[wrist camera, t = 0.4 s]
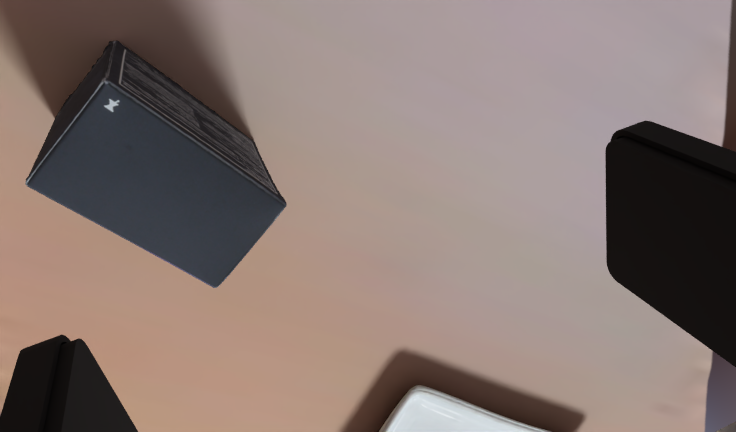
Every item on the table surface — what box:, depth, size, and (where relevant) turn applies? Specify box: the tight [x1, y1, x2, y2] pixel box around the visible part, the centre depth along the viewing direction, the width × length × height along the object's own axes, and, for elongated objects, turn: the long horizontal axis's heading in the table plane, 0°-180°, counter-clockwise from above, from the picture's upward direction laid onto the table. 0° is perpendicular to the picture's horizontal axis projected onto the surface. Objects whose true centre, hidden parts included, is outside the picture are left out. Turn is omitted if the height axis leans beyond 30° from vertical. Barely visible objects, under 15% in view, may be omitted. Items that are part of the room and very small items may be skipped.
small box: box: [26, 41, 286, 288], centre depth 32 cm, size 11×6×10 cm, turn 47°
